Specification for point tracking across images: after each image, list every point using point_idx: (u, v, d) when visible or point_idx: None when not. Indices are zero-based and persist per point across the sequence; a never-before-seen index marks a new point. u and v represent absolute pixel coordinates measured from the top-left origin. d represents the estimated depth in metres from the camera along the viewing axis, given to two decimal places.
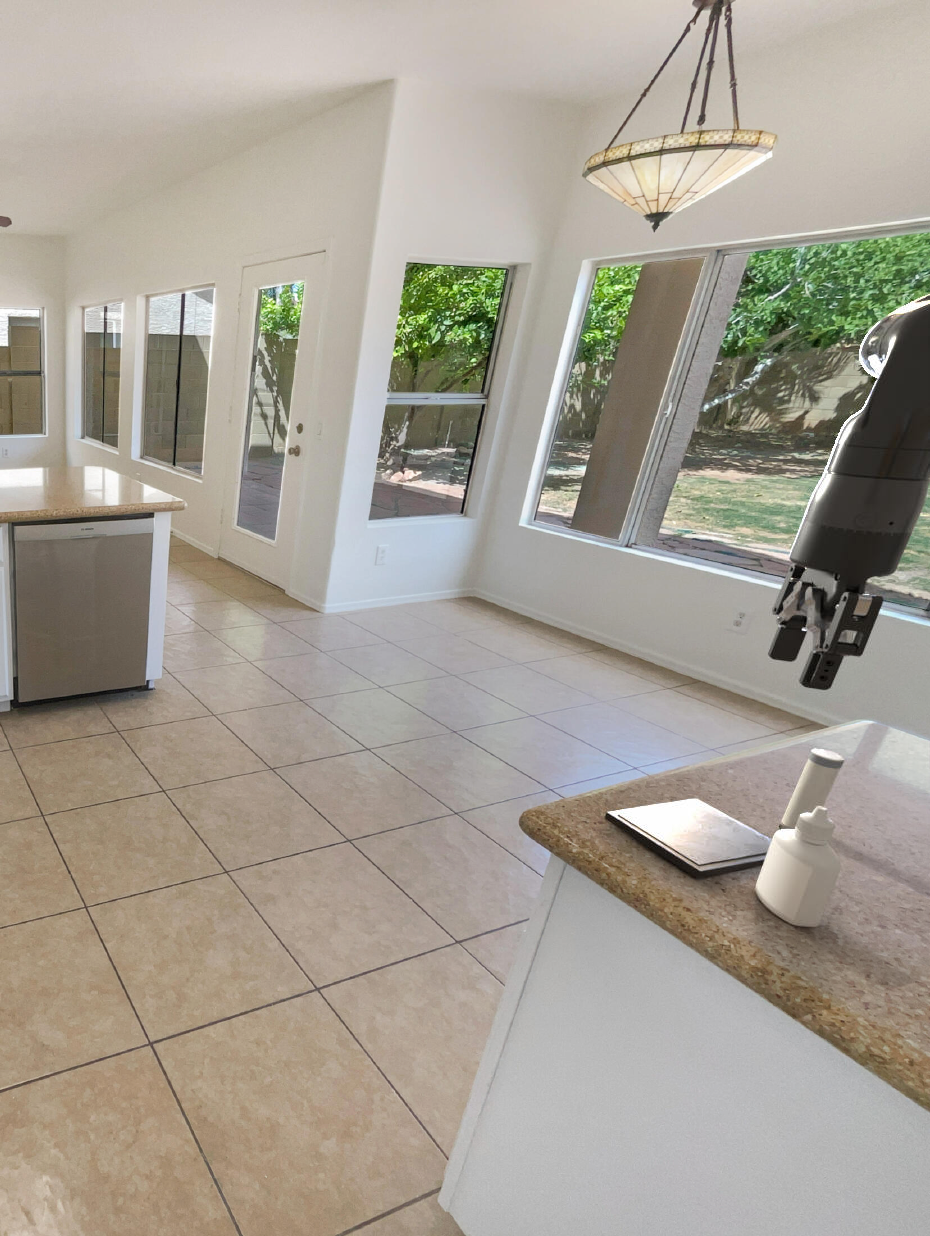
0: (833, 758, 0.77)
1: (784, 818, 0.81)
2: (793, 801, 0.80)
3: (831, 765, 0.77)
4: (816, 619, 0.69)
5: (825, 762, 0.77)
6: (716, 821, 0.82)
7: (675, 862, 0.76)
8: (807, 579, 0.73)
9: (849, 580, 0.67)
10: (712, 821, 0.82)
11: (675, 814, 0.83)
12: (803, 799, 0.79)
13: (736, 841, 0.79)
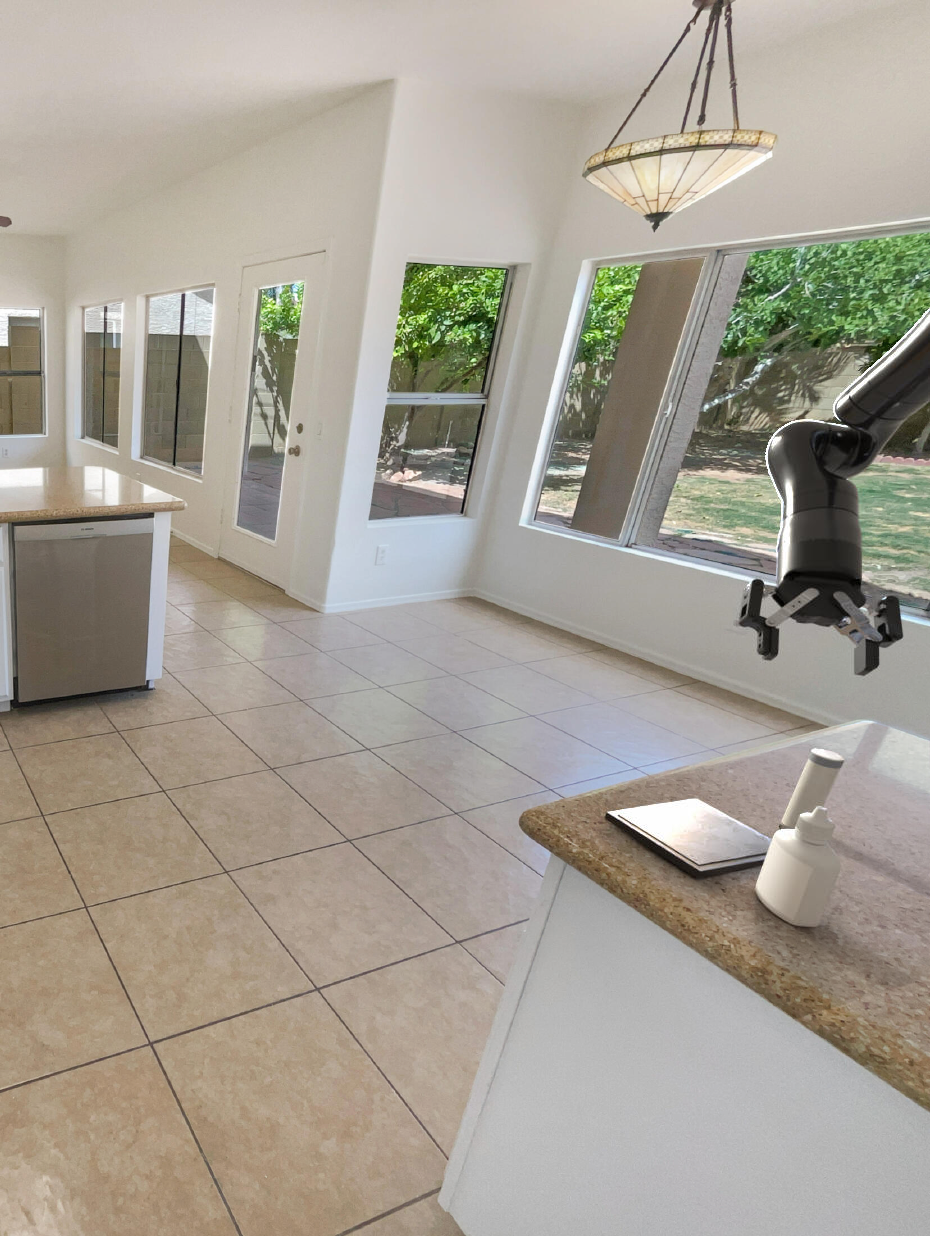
0: (833, 758, 0.77)
1: (784, 818, 0.81)
2: (793, 801, 0.80)
3: (831, 765, 0.77)
4: None
5: (825, 762, 0.77)
6: (716, 821, 0.82)
7: (675, 862, 0.76)
8: None
9: (777, 583, 0.90)
10: (712, 821, 0.82)
11: (675, 814, 0.83)
12: (803, 799, 0.79)
13: (736, 841, 0.79)
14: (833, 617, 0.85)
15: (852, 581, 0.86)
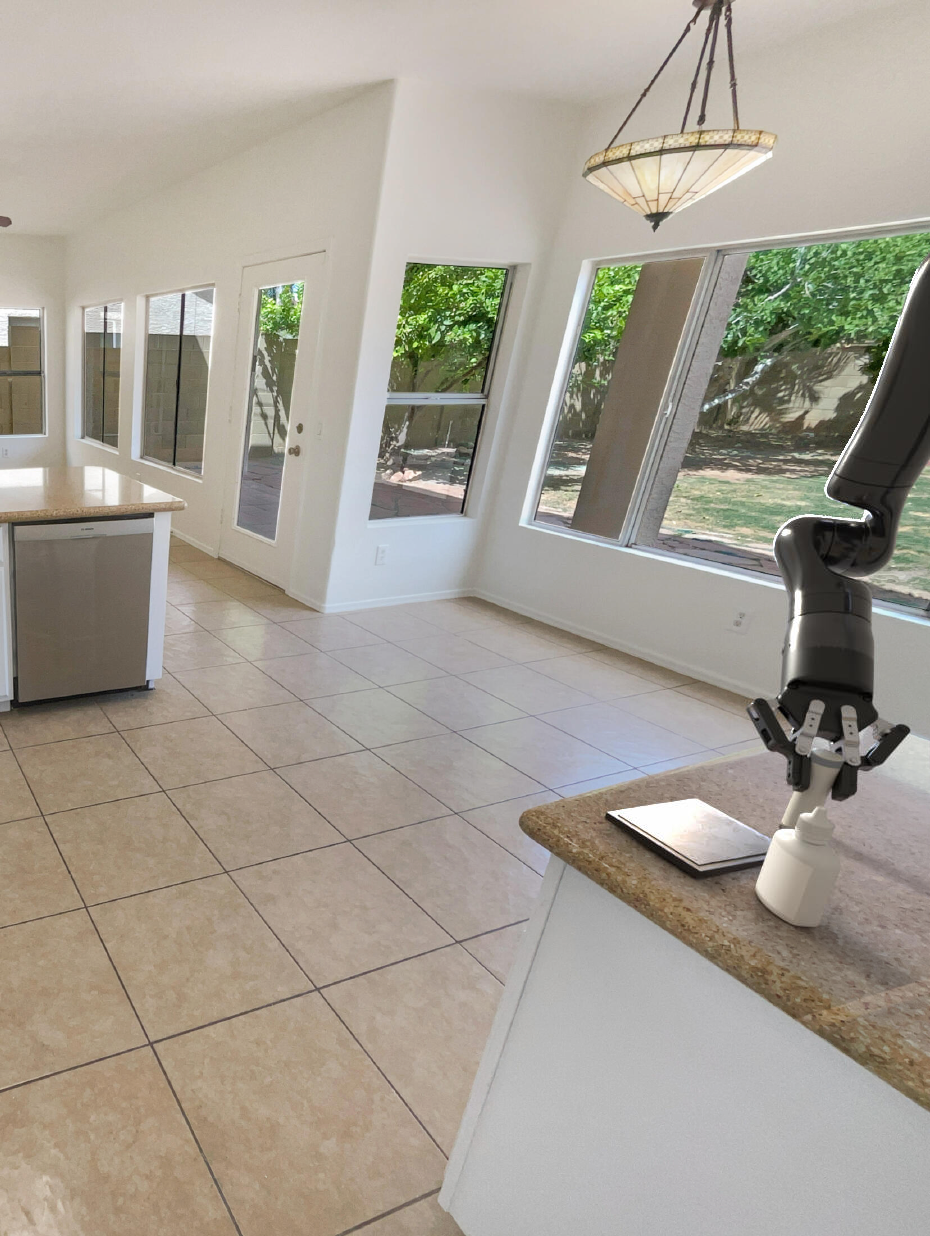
0: (833, 758, 0.77)
1: (784, 818, 0.81)
2: (793, 801, 0.80)
3: (830, 765, 0.77)
4: None
5: (825, 762, 0.77)
6: (716, 821, 0.82)
7: (675, 862, 0.76)
8: None
9: (781, 690, 0.83)
10: (712, 821, 0.82)
11: (675, 814, 0.83)
12: (803, 799, 0.79)
13: (736, 841, 0.79)
14: (841, 733, 0.78)
15: (863, 694, 0.79)
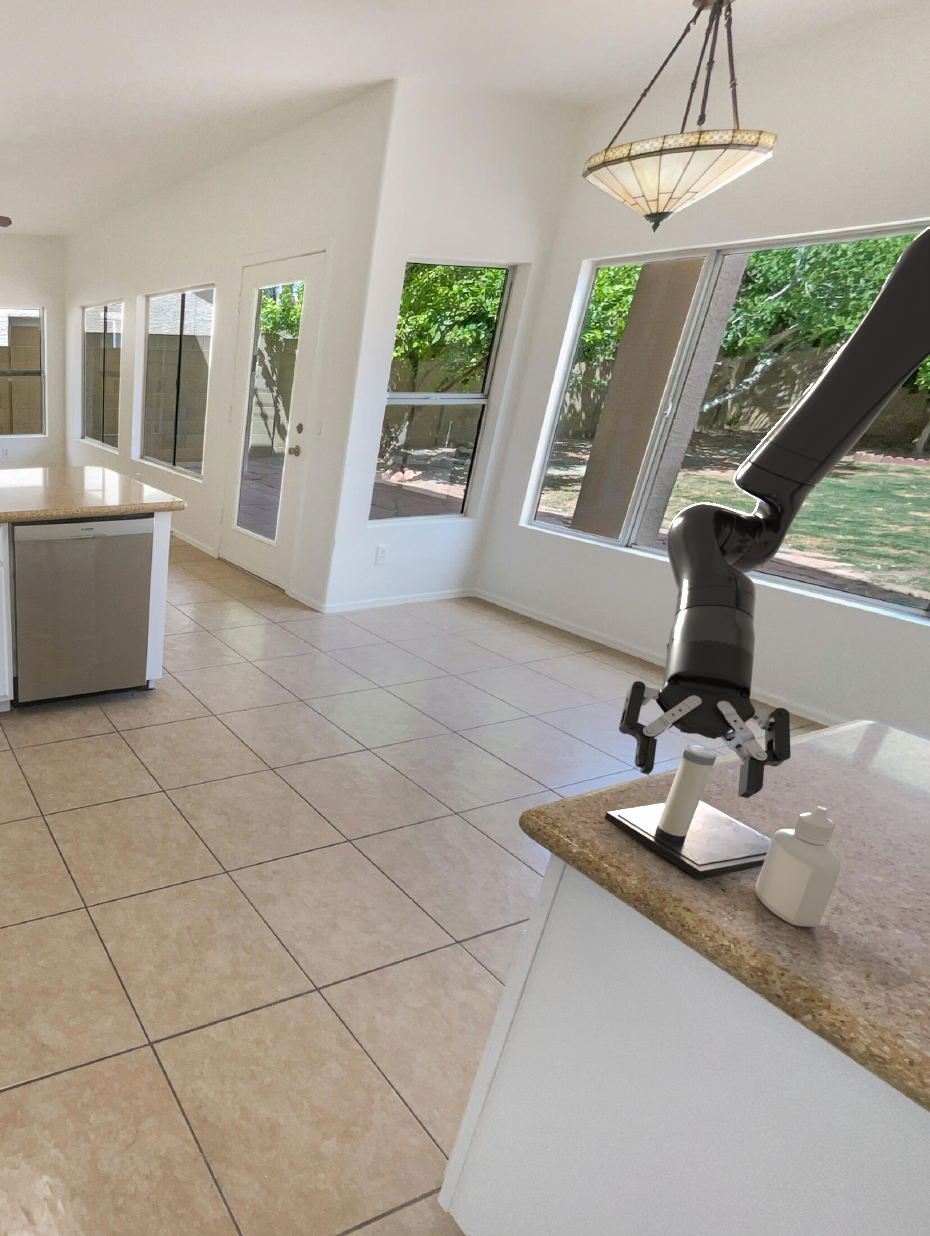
0: (704, 755, 0.75)
1: (661, 816, 0.79)
2: (669, 799, 0.78)
3: (702, 762, 0.75)
4: None
5: (697, 759, 0.75)
6: (716, 821, 0.82)
7: (675, 862, 0.76)
8: None
9: (663, 686, 0.81)
10: (712, 821, 0.82)
11: None
12: (678, 797, 0.77)
13: (736, 841, 0.79)
14: (716, 729, 0.76)
15: (740, 689, 0.77)
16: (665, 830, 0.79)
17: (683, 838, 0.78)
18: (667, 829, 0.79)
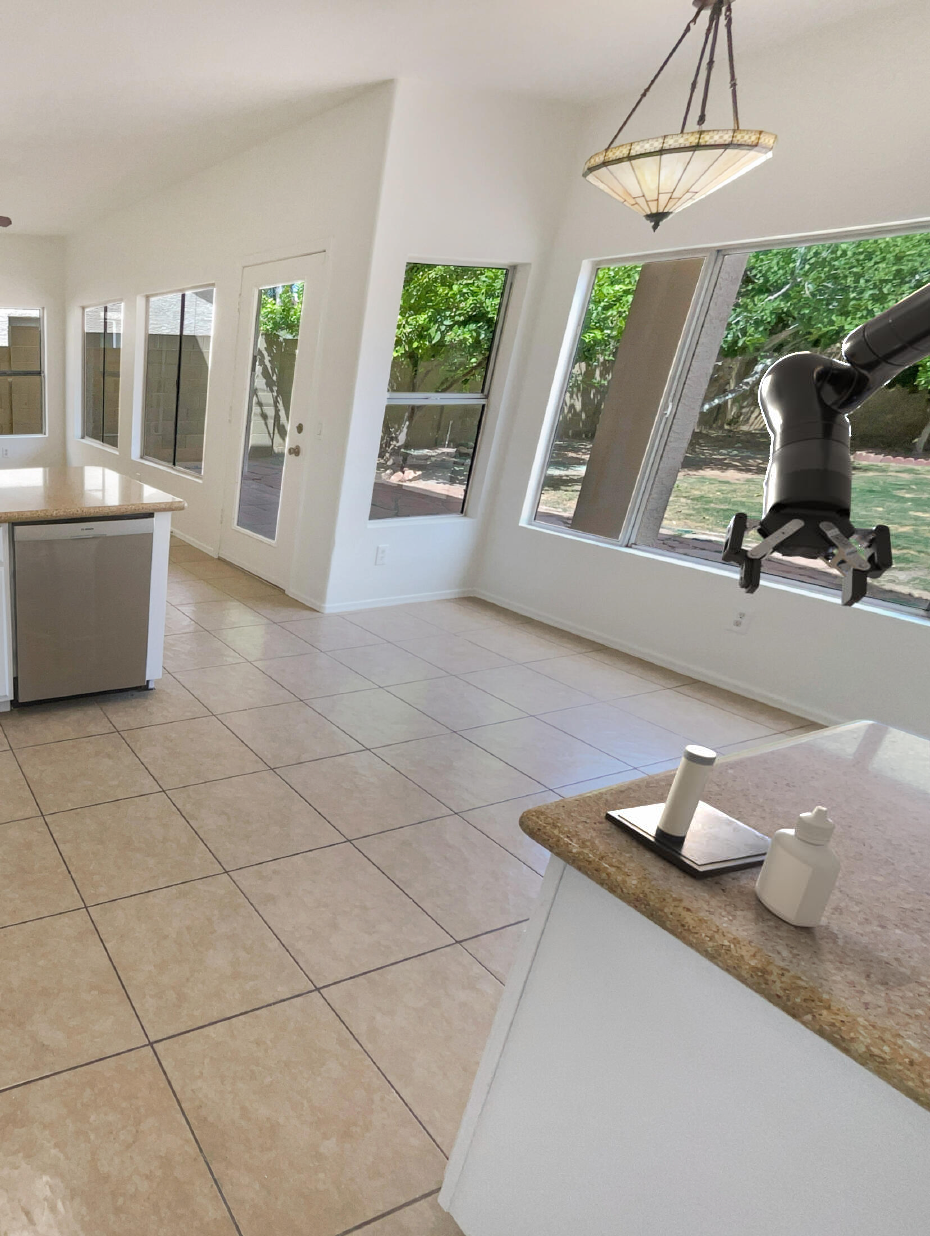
0: (704, 755, 0.75)
1: (661, 816, 0.79)
2: (669, 799, 0.78)
3: (702, 762, 0.75)
4: None
5: (697, 759, 0.75)
6: (716, 821, 0.82)
7: (675, 862, 0.76)
8: None
9: (763, 517, 0.87)
10: (712, 821, 0.82)
11: None
12: (678, 797, 0.77)
13: (736, 841, 0.79)
14: (819, 548, 0.82)
15: (840, 512, 0.82)
16: (665, 830, 0.79)
17: (683, 838, 0.78)
18: (667, 829, 0.79)
